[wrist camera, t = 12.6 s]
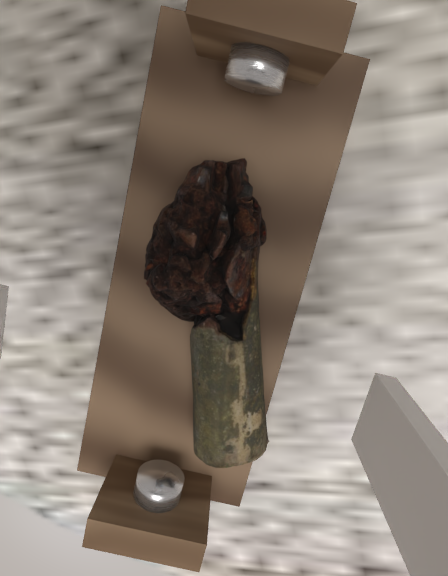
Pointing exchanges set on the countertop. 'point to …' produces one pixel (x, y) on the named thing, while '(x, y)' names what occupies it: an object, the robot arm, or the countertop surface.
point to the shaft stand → (272, 258)
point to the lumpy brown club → (216, 304)
